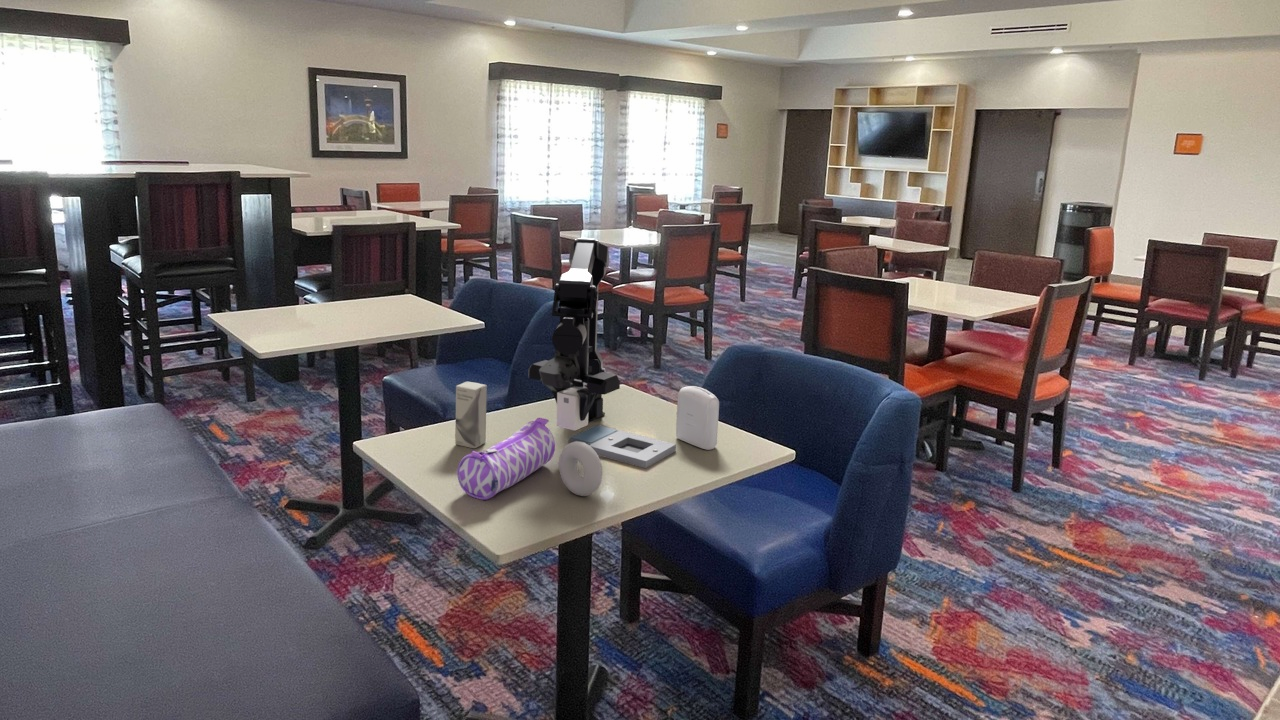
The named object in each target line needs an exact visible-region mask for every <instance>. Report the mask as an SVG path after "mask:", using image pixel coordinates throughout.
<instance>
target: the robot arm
mask: <svg viewBox="0 0 1280 720" xmlns="http://www.w3.org/2000/svg"><path fill="white" fill-rule="evenodd" d="M568 262H569V264H570V265H569V266H570V267H569V270H568V271H566V272H564V273H561V275H560V277H559V280H558V283H556V284H555V285H554V293H553V302H552V311H551V317H557V318H558V317H559V324H558V325H557V327H556V328H555V330H554V331H553V333H552V337H551V341H552V345H553V347H554V349H555V350H554V355H553V358H551V359H549V360H547V359H544V360H541V361H538V362H534V363H532V364H531V365H530V367H529V368H528V379H531V380H534V381H535V380H536V381H541V382H542V385H543V386H545V387H546V388H548V389H549V390H550V392H551V393H552V395H553V397H554V400H555V402H556V404H557V392H560V391H563V390H565V389H568V388H575V389H580V390H577V393H578V394H579V396H580V420H581V421H583V420H585V418H586V416H587V414H588V422H592V421H594V420H596V419H599V418H601V417H603V416H605V415H606V412H604V411H603V409H604V398H603V397H602V395H607V394H610V393H612V392H615V391H617V390H619V389H621V387H620V385H621V381H620V378H619V376H618V375H617V374H613V373H609V372H607V371H606V368H605V367H603V366H604V360H603V359H604V358H603V357H602V355H601V354H600V352H599V350H598V348H597V341H598V340H597V339H598V316H599V313H598V311H599V309H598V308H599V285H600V283H601V282H602V280H603V278H604V277H605V275H606V273H607V268H609V267H610V250H609V247H608V246H607V245H604V244H603V243H600V242H599V239H596V238H591V237H590V238H589V237H577V238H575V239H574V241H573V243H571V244H570V245H569V257H568Z"/></svg>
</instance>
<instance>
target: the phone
mask: <svg viewBox="0 0 1280 720" xmlns="http://www.w3.org/2000/svg"><path fill="white" fill-rule="evenodd" d="M618 431H620V429H616V428H613V427H607V426H605V425H600V424H596V425H594V426H592V427H590V428H587V429H586V430H584V431H583V430H582V431H581V432H579V433H576V434H574V435H572V436H570V437H568V439H567V442H568V443H572V442H575V441H579V442H584V443H586V444H588V445H590V444H593V443H595V442H597V441H599V440H601V439H603V438H605V437H607V436H609V435H611V434H613V433H615V432H618Z"/></svg>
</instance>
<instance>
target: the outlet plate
mask: <svg viewBox="0 0 1280 720" xmlns="http://www.w3.org/2000/svg"><path fill="white" fill-rule="evenodd" d="M619 430H620V429H619ZM589 446H591V447H592V448H593V449H594V451H595V452H596V453H597V455H598V457H604V458H608V459H611V460H614V461H618V462H621V463H625V464H629V465H633V466H636V467H640V468H642V469H643V468H644V469H647V468H649V467H650V466H652V465H654V464H655V463H658V462H660V461H661V460H662V459H665V458H667V456H670V455H671V454H674V453H675V452H676V451H677V444H676V443H672V442H669V441H665V440H660V439H658V438H657V439H656V438H652V437H648V436H645V435H641V434H636V433H632V432H628V431H625V430H620V431H618V432H615V433H613V434H611V435H609V436H607V437H605V438H603V439H601V440H599V441H597V442H595V443H593V444H590V445H589Z"/></svg>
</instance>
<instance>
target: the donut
mask: <svg viewBox="0 0 1280 720" xmlns="http://www.w3.org/2000/svg"><path fill="white" fill-rule="evenodd" d="M578 462H579V463H580V465H581V466H582V469H583V476H582V475H581V474H580V472H579V469H578ZM558 470H559V473H560V474H559V475H560V477H561V480H562V482H563V484H564V485H565V487H566V488H567V489H568V490H569V491H570V493H573V494H575V495H576V496H581V497H586V496H591V495H592V494H594V493H595V492H596V491H597V490H598V489H599V487H600V485H601V483H602V479H603V466H602V462H601V459H600V456H599V455H597V453H596V452H595V451H594V449H593V448H592V447H591V446H589V445H588V444H586V443H584V442H579V441H575V442H572V443H571V442H568V444H567V445H566V446H565V447H563V449H562V451H561V452H560V454H559V462H558Z"/></svg>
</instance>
